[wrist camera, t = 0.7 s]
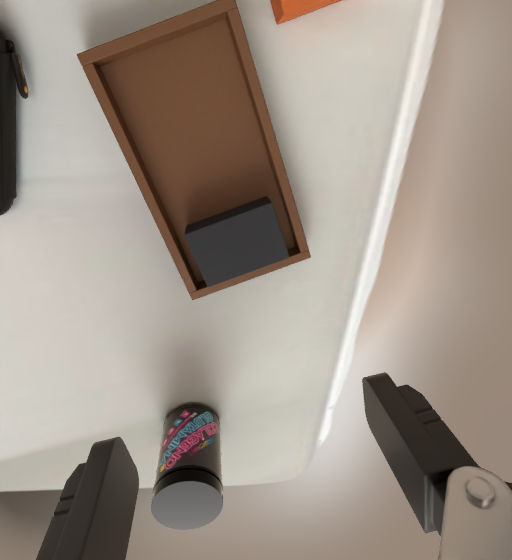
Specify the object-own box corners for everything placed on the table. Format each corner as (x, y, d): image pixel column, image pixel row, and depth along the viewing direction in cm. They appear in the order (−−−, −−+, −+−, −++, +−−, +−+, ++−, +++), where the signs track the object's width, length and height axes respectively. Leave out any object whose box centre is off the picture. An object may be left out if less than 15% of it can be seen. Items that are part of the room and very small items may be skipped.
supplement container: (231, 414, 44) (236, 494, 35) (202, 451, 46) (199, 536, 36) (181, 393, 42) (173, 472, 32) (153, 432, 44) (137, 518, 34)
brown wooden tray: (87, 60, 28) (76, 54, 26) (231, 4, 28) (233, -7, 26) (193, 289, 37) (192, 300, 35) (304, 248, 37) (310, 257, 34)
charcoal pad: (185, 225, 34) (183, 234, 31) (266, 195, 34) (272, 202, 31) (207, 275, 36) (207, 287, 33) (283, 247, 36) (289, 258, 33)
